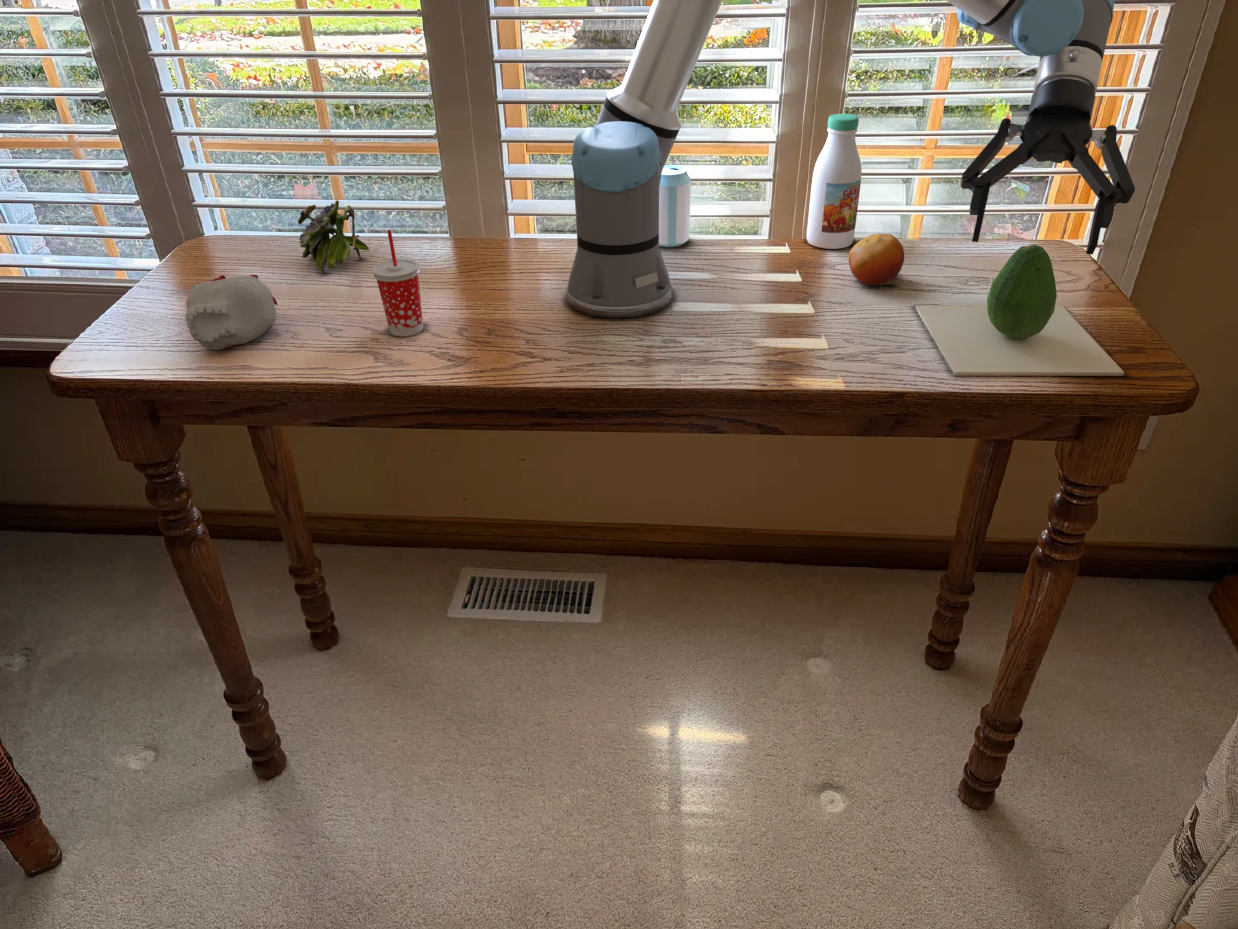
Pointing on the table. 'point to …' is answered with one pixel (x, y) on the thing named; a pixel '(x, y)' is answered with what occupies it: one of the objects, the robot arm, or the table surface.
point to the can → (674, 206)
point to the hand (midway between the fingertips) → (1032, 243)
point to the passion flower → (328, 236)
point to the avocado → (1023, 293)
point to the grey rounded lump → (229, 311)
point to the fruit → (876, 259)
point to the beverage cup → (400, 293)
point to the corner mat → (1014, 345)
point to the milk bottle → (835, 186)
